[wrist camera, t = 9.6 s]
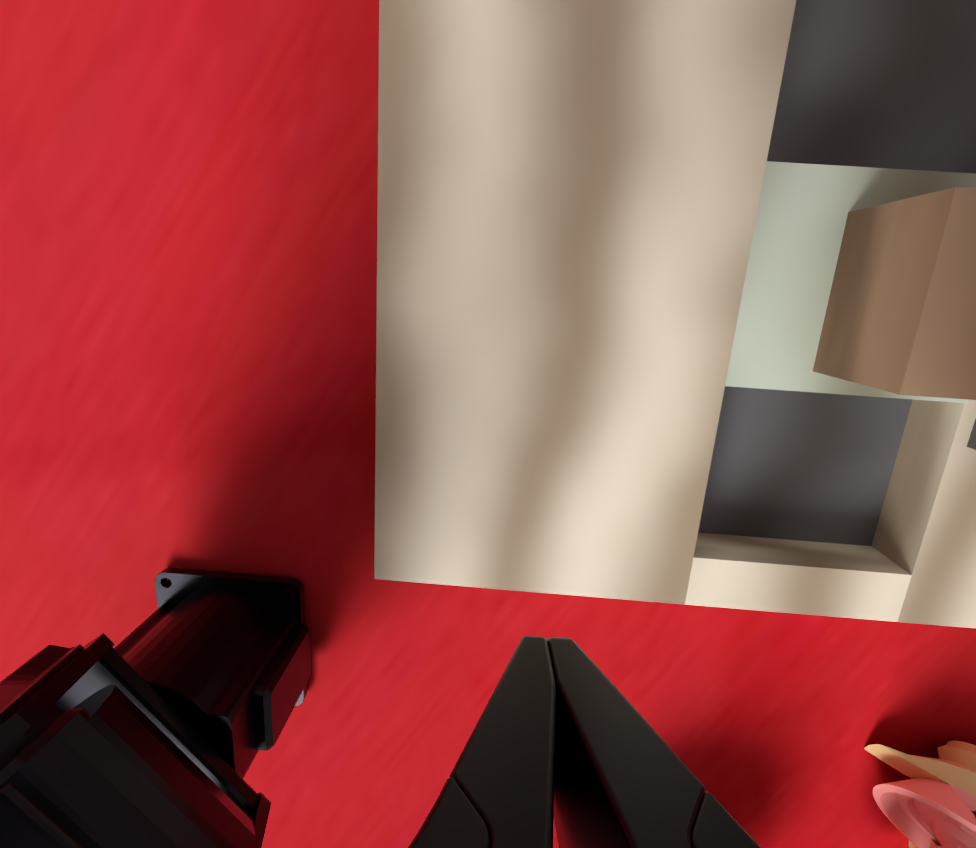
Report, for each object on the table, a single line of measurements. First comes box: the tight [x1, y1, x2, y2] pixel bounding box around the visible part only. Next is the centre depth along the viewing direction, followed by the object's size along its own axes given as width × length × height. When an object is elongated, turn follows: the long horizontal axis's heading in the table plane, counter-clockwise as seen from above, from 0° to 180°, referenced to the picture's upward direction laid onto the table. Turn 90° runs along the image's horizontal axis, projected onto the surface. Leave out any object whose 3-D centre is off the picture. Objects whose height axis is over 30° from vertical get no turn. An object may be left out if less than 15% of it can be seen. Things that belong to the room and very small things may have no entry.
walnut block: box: [813, 187, 976, 400], centre depth 15 cm, size 5×5×4 cm
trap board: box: [374, 0, 976, 628], centre depth 16 cm, size 23×24×6 cm
